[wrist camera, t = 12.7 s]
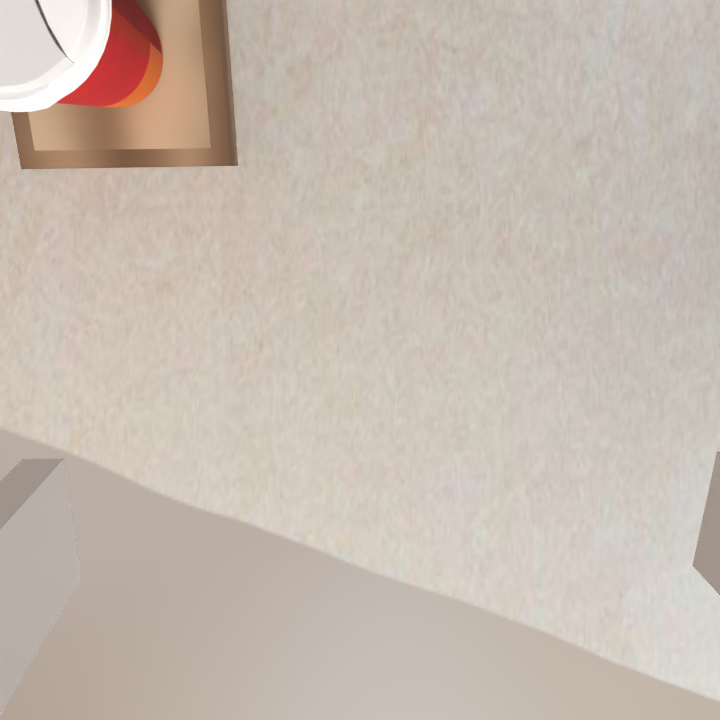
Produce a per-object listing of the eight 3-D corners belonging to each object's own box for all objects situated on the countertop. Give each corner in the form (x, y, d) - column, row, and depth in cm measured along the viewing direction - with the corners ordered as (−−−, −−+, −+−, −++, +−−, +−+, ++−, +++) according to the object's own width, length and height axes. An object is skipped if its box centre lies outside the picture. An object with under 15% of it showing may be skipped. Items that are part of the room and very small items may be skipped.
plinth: (222, -48, 36) (211, -73, 32) (237, 165, 40) (229, 165, 36) (12, -49, 35) (-24, -75, 31) (48, 168, 39) (19, 168, 35)
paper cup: (31, -32, 32) (-168, -170, 19) (179, -22, 33) (88, -148, 19) (48, 126, 34) (-118, 103, 21) (186, 133, 35) (109, 114, 22)
